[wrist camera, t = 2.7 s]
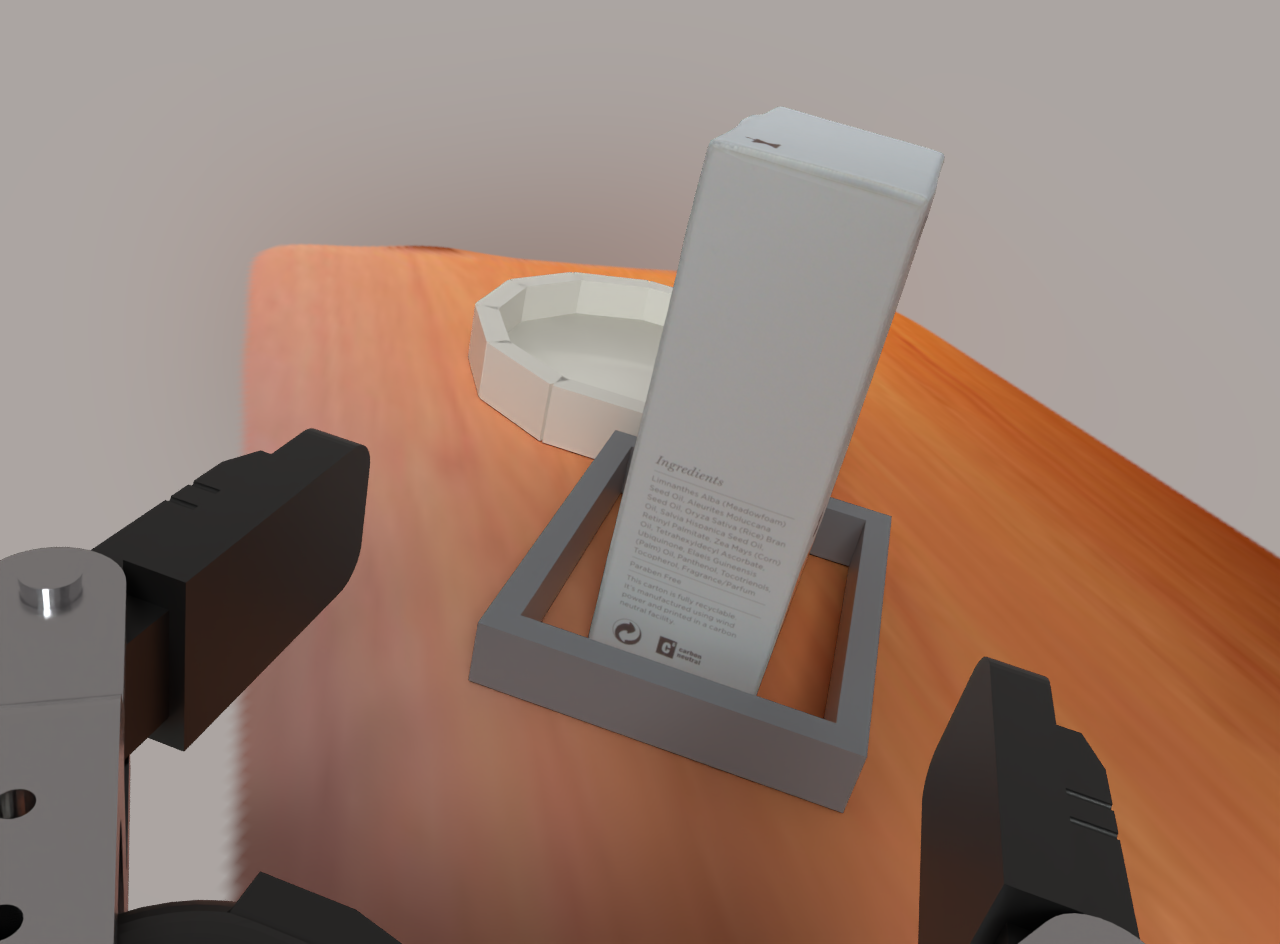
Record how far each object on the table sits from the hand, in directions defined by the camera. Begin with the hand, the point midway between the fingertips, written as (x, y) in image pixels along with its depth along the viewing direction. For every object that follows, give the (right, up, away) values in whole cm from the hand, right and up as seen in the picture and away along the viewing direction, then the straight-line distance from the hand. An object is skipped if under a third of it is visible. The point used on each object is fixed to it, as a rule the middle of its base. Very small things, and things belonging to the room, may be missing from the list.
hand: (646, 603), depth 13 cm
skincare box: (+1, -2, +14) cm, 14 cm away
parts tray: (+2, -2, +14) cm, 14 cm away
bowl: (0, +5, +25) cm, 25 cm away
